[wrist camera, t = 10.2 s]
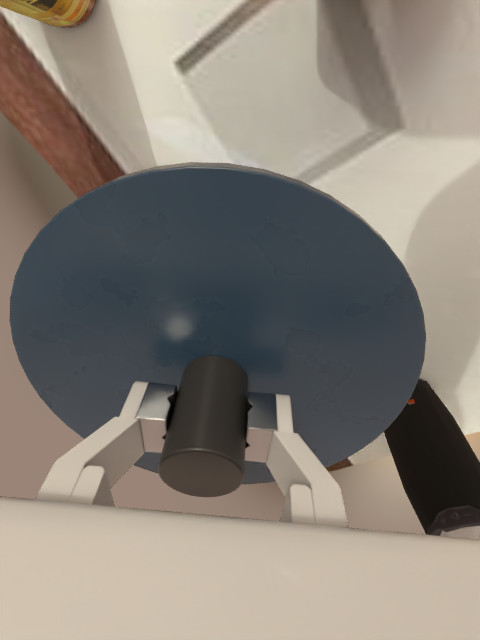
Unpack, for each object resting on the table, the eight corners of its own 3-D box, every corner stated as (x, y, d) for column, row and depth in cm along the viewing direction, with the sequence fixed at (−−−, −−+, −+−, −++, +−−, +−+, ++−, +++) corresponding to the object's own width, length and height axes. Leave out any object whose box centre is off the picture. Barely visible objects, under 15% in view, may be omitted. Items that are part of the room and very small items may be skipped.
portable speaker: (378, 374, 48) (437, 519, 32) (445, 375, 48) (539, 522, 32) (367, 413, 53) (413, 555, 37) (428, 414, 53) (501, 559, 37)
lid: (-39, 133, 10) (-273, 172, 5) (496, 184, 10) (678, 261, 6) (73, 450, 19) (18, 557, 14) (351, 475, 19) (378, 589, 15)
